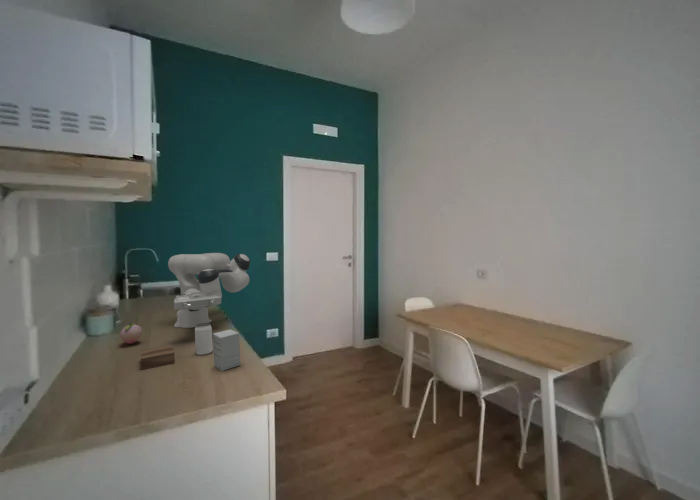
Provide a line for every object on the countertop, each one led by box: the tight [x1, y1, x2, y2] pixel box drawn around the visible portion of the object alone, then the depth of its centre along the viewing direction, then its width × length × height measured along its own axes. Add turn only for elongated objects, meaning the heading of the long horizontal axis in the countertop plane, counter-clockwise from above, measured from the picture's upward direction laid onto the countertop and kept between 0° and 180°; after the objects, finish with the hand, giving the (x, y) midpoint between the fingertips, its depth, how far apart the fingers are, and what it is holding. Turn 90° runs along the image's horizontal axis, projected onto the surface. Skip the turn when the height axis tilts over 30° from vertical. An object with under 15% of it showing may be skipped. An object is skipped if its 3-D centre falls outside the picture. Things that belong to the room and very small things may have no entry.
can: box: [194, 322, 213, 356], centre depth 139 cm, size 6×6×12 cm
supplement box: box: [212, 329, 241, 372], centre depth 125 cm, size 7×7×13 cm
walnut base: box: [140, 344, 176, 370], centre depth 130 cm, size 11×11×4 cm
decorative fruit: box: [119, 322, 143, 345], centre depth 151 cm, size 9×8×10 cm
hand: (200, 305), depth 149 cm, fingers open, 8 cm apart
